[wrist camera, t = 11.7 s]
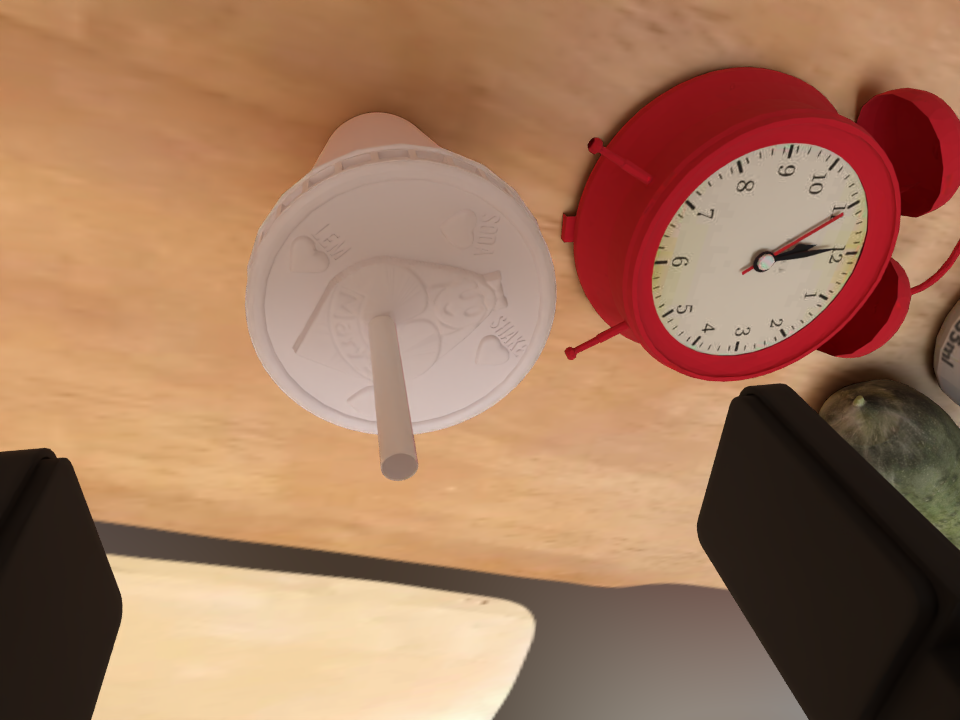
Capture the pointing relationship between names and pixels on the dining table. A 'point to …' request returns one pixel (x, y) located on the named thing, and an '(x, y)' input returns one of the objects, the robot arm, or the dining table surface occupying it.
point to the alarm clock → (759, 221)
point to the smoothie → (398, 287)
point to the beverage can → (949, 355)
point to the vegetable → (904, 445)
